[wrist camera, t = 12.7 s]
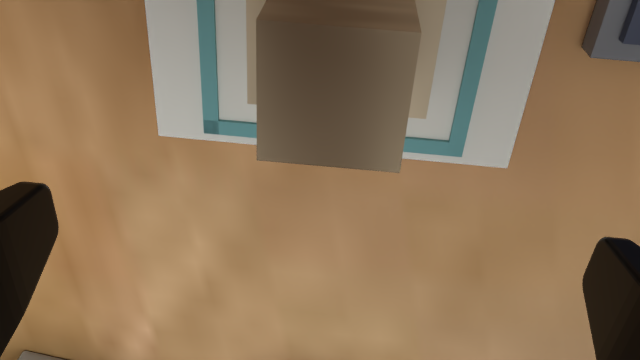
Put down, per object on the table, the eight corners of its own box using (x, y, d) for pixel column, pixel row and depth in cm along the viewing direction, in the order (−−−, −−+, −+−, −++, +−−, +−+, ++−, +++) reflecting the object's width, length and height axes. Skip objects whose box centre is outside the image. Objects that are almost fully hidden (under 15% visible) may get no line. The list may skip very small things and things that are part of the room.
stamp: (449, -89, 18) (495, -24, 11) (420, 88, 21) (442, 218, 15) (259, -104, 18) (193, -47, 12) (259, 74, 22) (208, 197, 15)
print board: (605, -191, 17) (611, -190, 16) (505, 163, 23) (508, 170, 23) (125, -227, 17) (119, -227, 17) (161, 130, 24) (157, 137, 23)
